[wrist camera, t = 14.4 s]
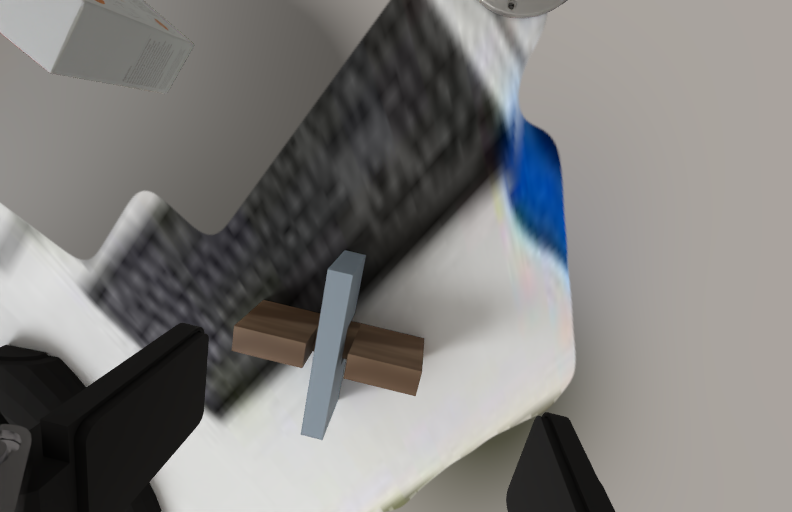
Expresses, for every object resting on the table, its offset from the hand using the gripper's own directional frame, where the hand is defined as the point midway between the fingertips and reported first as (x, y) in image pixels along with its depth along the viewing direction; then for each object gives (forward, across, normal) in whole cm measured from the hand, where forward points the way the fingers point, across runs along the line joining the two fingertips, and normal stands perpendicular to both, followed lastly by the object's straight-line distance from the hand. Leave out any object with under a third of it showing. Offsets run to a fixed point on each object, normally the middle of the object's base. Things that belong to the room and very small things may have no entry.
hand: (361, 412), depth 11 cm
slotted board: (+32, +6, +16) cm, 37 cm away
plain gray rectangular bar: (+32, +6, +16) cm, 37 cm away
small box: (+32, +31, -11) cm, 46 cm away
